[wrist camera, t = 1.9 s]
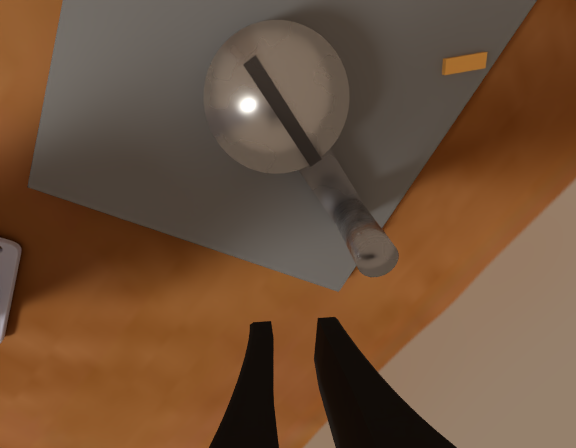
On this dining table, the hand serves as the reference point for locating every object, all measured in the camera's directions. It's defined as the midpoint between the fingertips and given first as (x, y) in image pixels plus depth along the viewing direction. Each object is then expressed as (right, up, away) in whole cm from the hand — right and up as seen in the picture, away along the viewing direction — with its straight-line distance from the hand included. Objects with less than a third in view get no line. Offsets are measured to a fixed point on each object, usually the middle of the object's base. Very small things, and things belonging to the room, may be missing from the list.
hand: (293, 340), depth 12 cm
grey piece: (0, +8, +5) cm, 10 cm away
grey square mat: (-1, +11, +5) cm, 12 cm away
